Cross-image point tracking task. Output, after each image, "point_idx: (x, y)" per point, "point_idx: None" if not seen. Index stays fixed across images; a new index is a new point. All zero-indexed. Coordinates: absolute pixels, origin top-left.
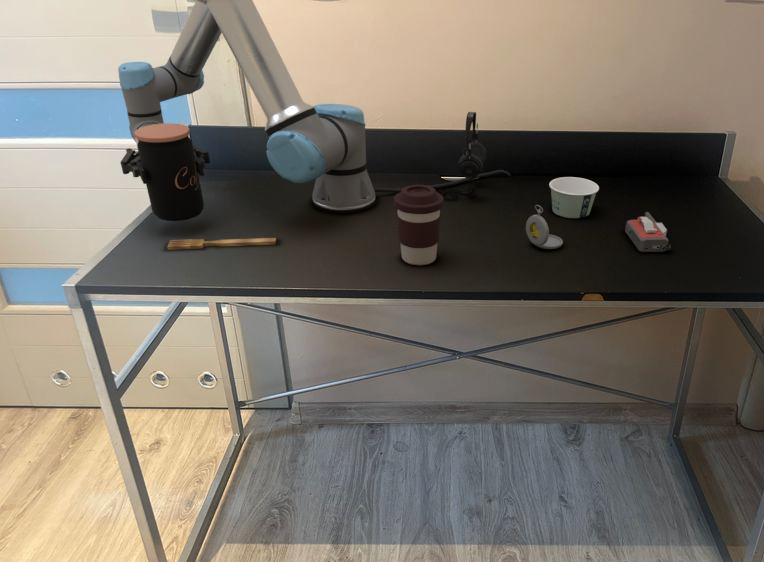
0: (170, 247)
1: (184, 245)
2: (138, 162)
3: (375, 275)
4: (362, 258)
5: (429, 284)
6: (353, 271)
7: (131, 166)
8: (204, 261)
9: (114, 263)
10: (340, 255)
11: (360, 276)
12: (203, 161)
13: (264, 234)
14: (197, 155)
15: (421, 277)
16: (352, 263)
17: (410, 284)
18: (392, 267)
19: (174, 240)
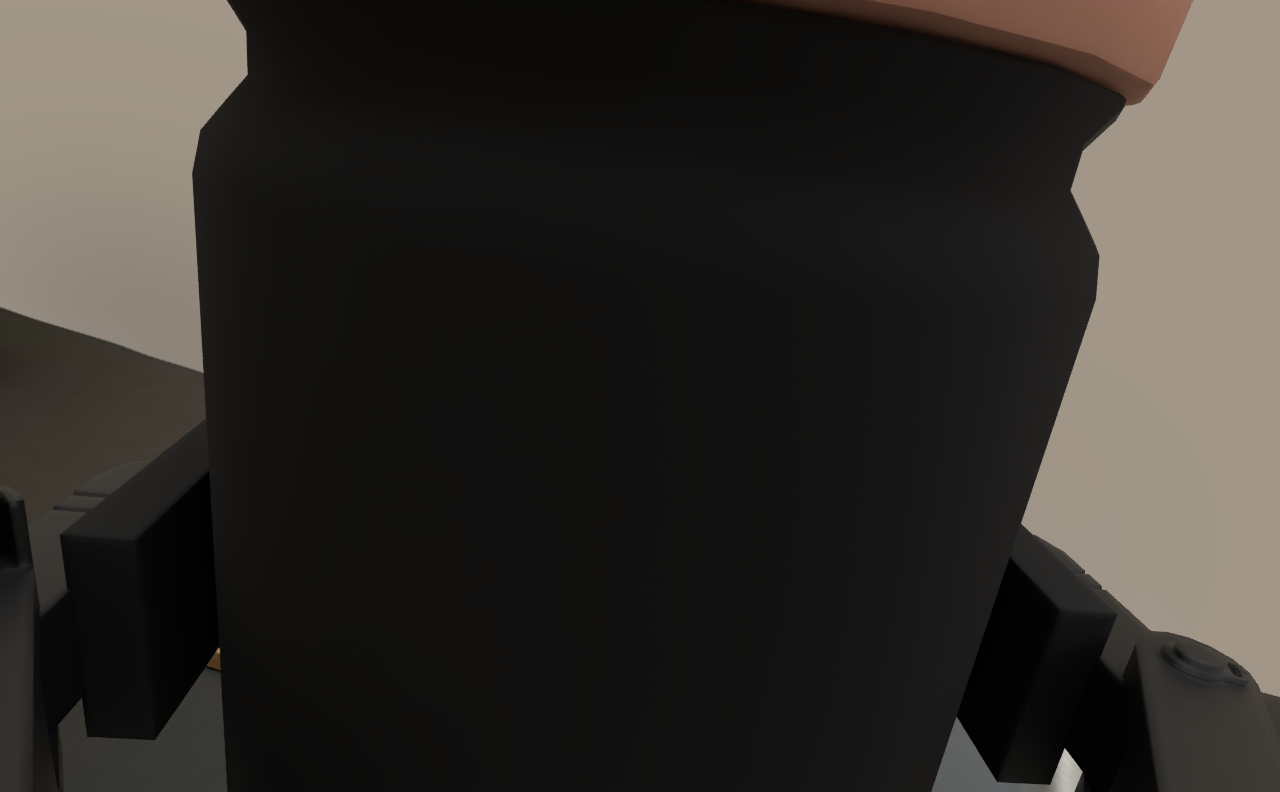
0: None
1: None
2: (1056, 577)
3: (110, 388)
4: (11, 436)
5: (58, 341)
6: (134, 412)
7: (1144, 625)
8: None
9: (964, 743)
10: (42, 467)
11: (149, 396)
12: (139, 466)
13: (65, 726)
14: (18, 566)
15: (29, 354)
16: (79, 432)
17: (94, 352)
18: (16, 390)
19: None
